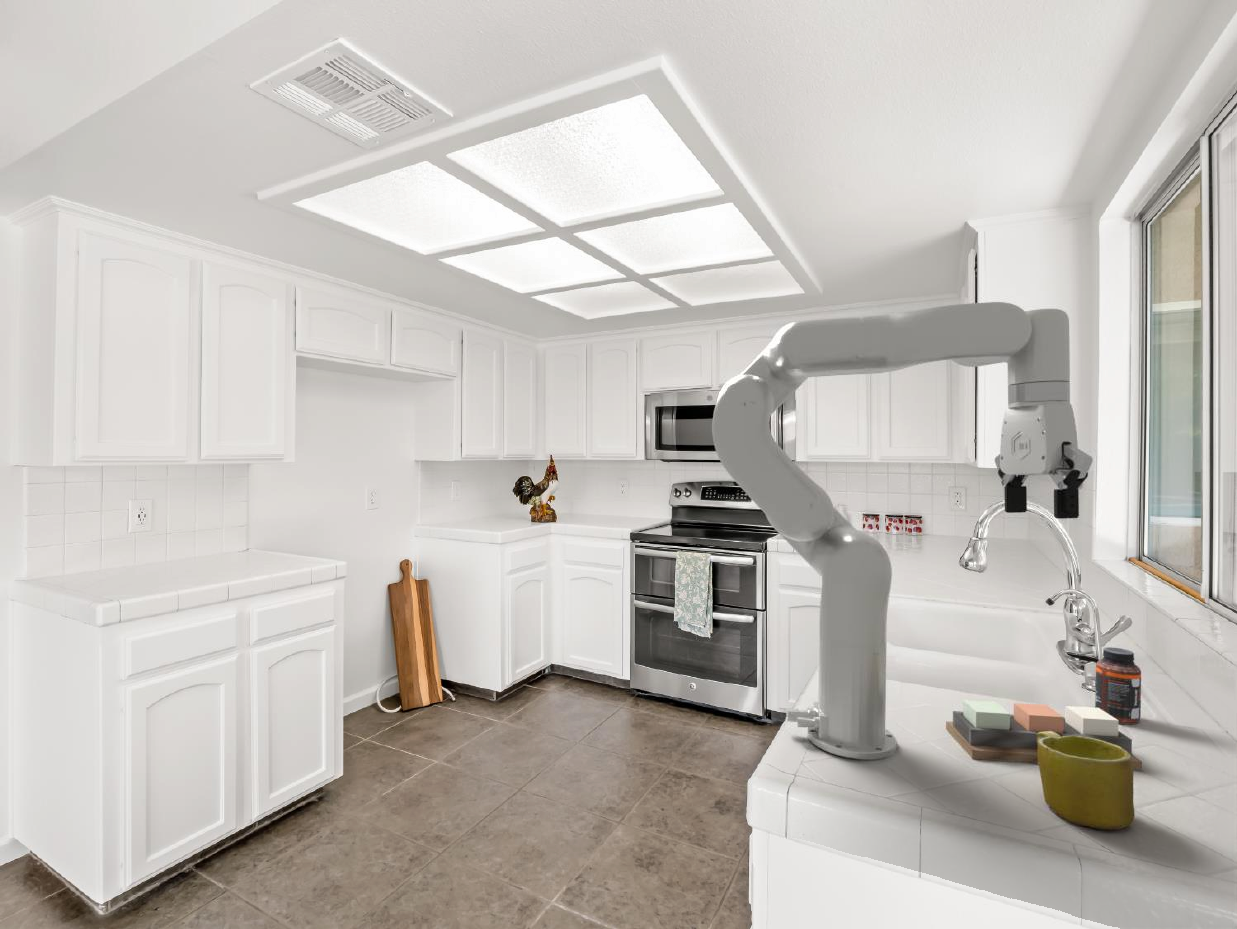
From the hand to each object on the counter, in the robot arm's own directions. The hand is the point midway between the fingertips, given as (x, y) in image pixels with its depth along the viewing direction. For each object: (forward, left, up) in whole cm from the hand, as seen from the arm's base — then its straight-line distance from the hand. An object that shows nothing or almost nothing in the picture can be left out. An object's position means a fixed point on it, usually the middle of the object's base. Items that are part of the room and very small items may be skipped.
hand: (1039, 515), depth 92 cm
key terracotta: (+1, +2, -31) cm, 31 cm away
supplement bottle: (+20, +16, -35) cm, 43 cm away
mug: (-2, -14, -35) cm, 38 cm away
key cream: (+8, +2, -31) cm, 32 cm away
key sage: (-6, +2, -31) cm, 32 cm away
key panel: (+1, +2, -35) cm, 35 cm away
